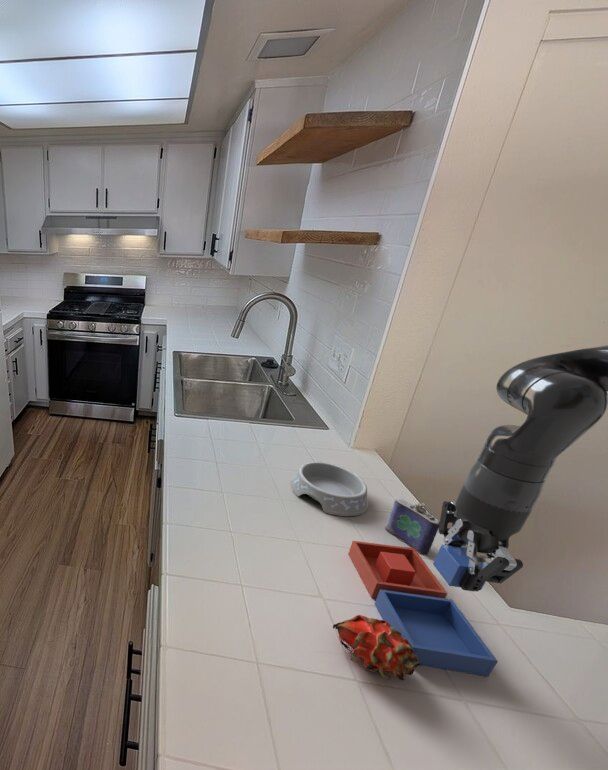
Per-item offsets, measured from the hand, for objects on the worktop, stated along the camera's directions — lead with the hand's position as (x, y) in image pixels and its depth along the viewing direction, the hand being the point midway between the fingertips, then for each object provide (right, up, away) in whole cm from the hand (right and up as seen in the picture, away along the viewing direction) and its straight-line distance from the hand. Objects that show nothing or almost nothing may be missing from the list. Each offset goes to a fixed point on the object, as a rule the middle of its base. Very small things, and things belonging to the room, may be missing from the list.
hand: (456, 575), depth 64 cm
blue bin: (-1, -14, +5) cm, 15 cm away
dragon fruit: (-14, -15, +2) cm, 21 cm away
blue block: (0, 0, 0) cm, 0 cm away
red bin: (+2, -9, +16) cm, 19 cm away
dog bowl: (+4, +2, +42) cm, 42 cm away
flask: (+13, -5, +26) cm, 30 cm away
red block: (+1, -8, +16) cm, 18 cm away
